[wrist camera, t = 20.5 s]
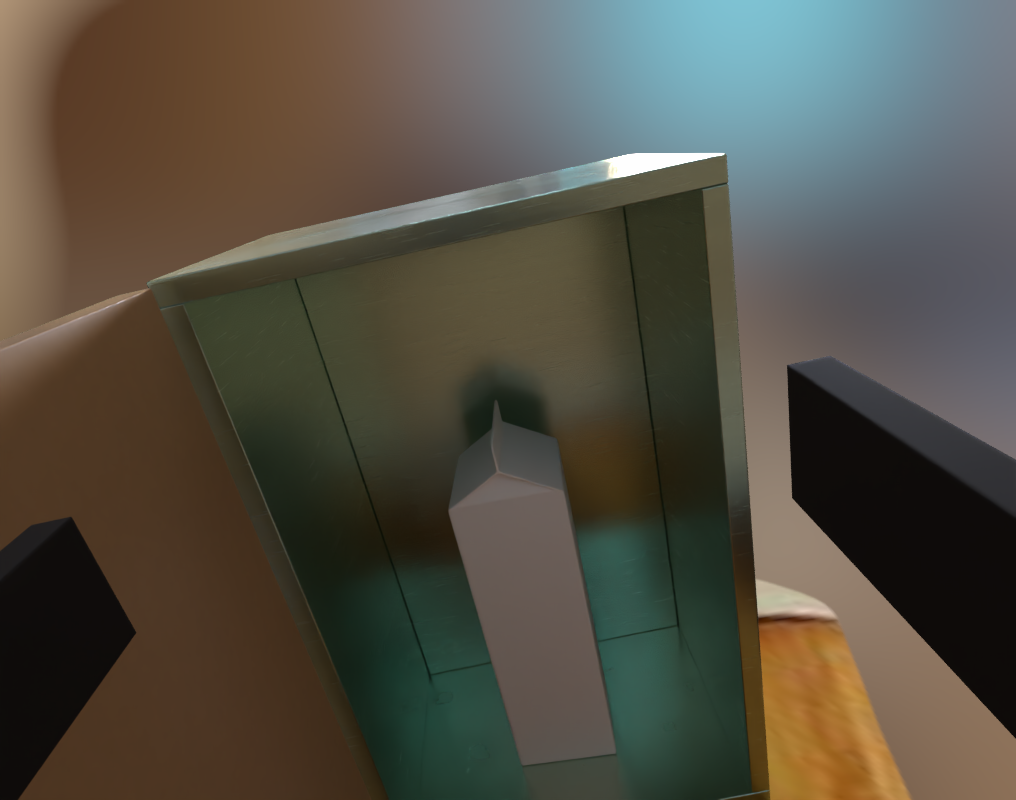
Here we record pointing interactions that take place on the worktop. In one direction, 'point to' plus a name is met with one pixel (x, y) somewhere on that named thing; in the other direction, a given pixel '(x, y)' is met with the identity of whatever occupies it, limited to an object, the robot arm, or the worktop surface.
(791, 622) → the worktop surface
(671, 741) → the fridge
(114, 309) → the fridge door
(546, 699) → the milk
